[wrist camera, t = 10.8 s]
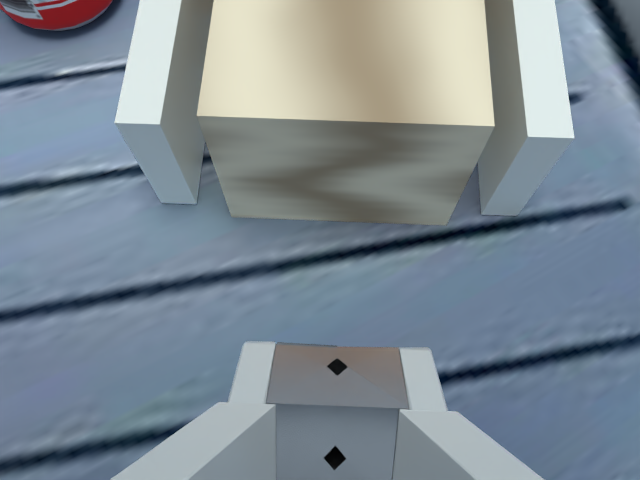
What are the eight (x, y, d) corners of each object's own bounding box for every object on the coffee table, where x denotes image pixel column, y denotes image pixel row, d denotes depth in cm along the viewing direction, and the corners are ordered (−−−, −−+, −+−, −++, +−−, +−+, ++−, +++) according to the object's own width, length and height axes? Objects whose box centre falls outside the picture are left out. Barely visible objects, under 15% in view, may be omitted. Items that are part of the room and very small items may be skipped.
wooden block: (232, 218, 25) (196, 115, 18) (254, 16, 29) (233, -131, 22) (445, 226, 24) (494, 126, 17) (437, 22, 29) (473, -125, 22)
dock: (161, 203, 25) (64, 37, 15) (196, -12, 29) (137, -239, 20) (517, 216, 24) (636, 54, 15) (496, -4, 29) (577, -231, 20)
